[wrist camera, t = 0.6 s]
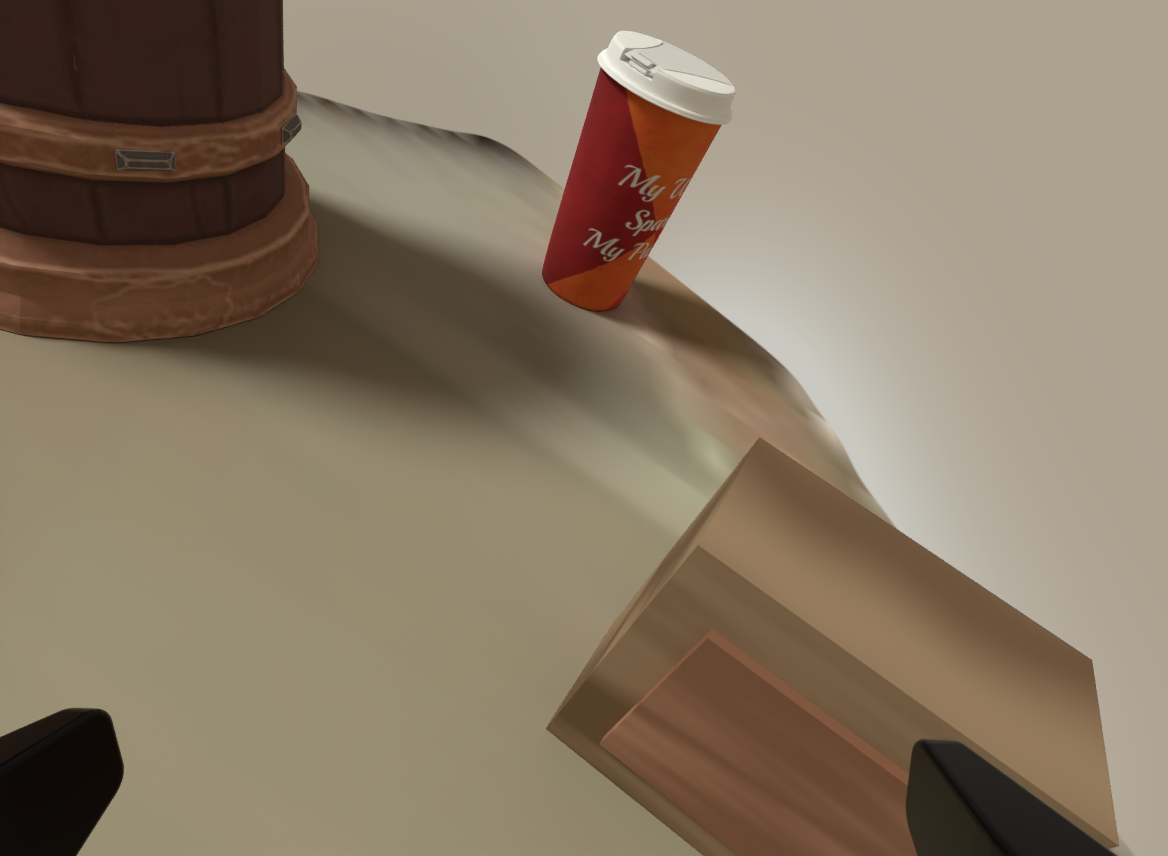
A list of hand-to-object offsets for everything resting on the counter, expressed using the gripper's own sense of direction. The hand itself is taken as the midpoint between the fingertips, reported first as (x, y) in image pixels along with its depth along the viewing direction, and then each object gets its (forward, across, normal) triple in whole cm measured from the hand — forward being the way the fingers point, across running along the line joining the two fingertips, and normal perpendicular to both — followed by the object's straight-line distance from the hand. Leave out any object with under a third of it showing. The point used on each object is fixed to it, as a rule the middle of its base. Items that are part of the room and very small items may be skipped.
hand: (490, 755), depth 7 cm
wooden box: (+13, -4, +12) cm, 18 cm away
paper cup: (+37, +2, -3) cm, 37 cm away
